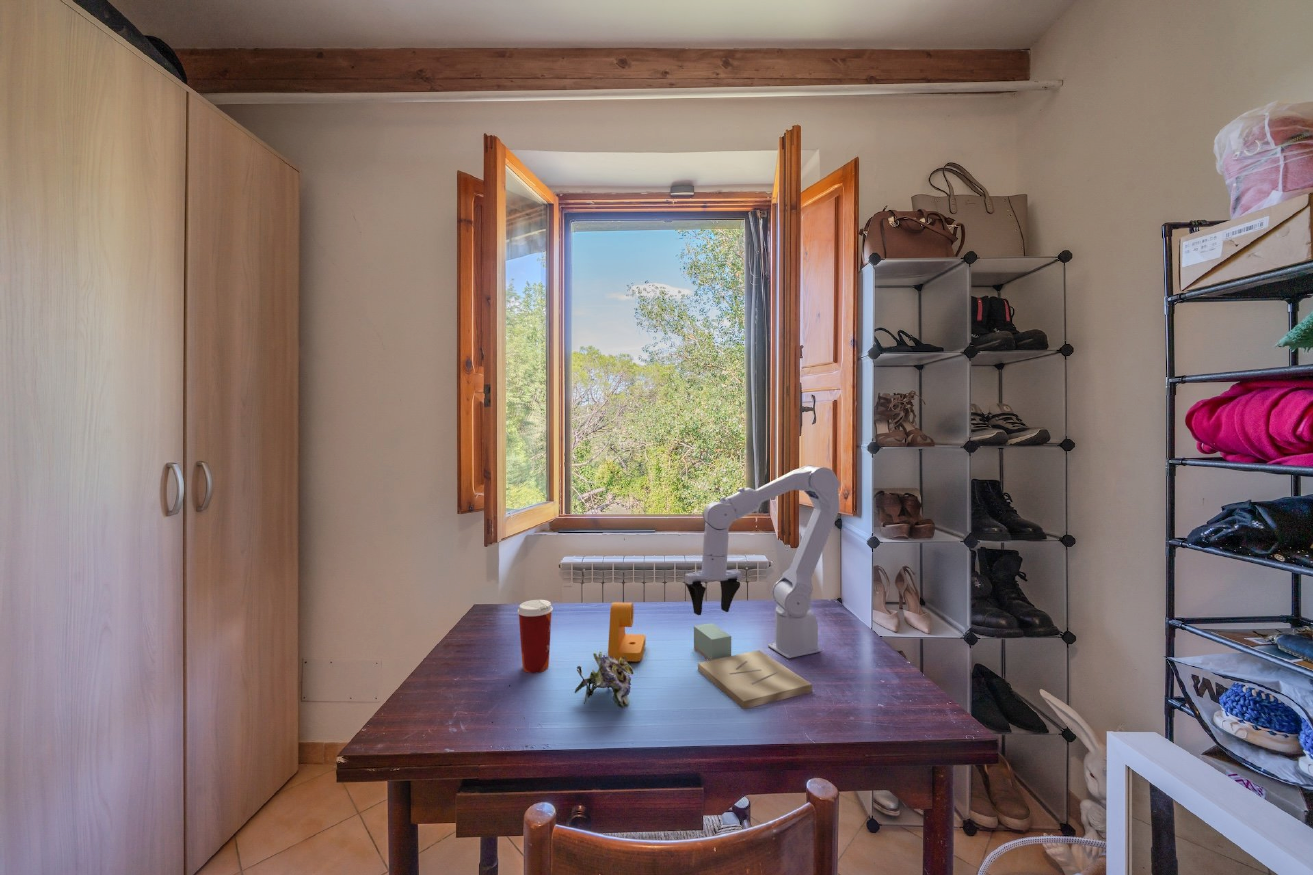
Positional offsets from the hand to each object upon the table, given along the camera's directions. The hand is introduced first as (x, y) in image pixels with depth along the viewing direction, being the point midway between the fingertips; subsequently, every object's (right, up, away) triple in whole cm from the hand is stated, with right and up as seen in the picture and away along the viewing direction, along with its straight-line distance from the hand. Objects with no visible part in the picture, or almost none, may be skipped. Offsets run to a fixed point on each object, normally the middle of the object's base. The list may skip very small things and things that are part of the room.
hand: (711, 612), depth 123 cm
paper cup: (-39, -10, -6) cm, 41 cm away
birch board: (+7, -10, -13) cm, 18 cm away
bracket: (-19, -10, 0) cm, 22 cm away
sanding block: (0, -10, 0) cm, 10 cm away
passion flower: (-23, -10, -22) cm, 33 cm away
